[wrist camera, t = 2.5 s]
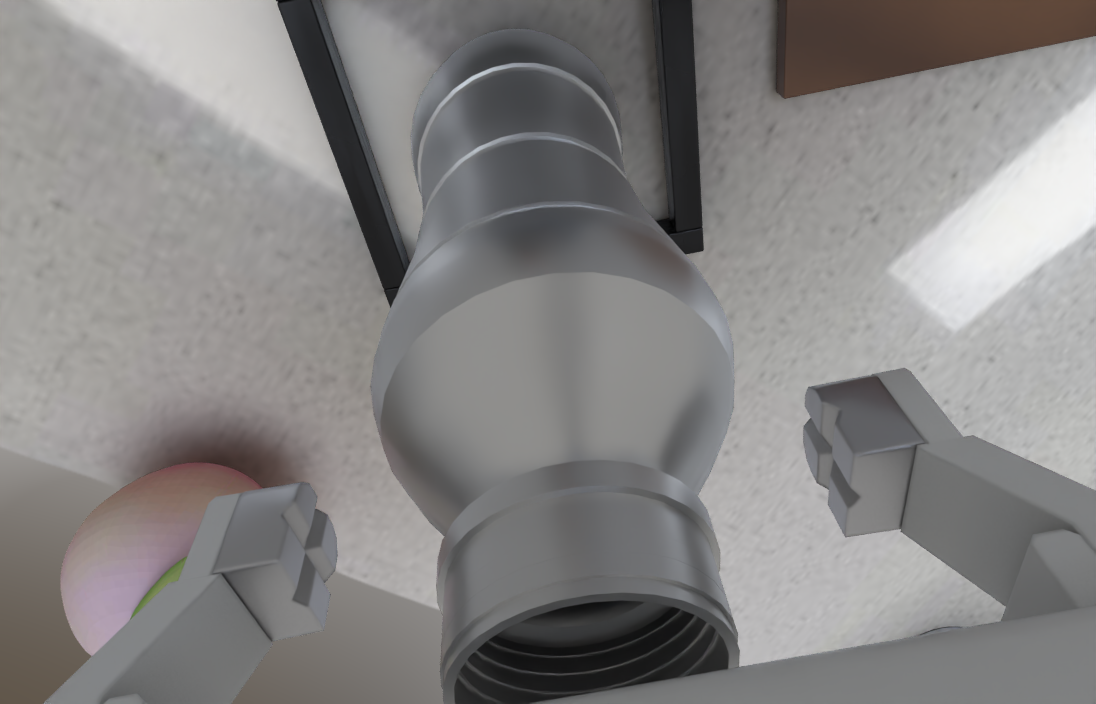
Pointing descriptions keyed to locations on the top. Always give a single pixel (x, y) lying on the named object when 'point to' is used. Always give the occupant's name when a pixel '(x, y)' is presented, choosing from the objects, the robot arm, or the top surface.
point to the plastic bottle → (553, 390)
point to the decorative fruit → (137, 546)
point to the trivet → (911, 36)
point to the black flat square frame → (364, 181)
